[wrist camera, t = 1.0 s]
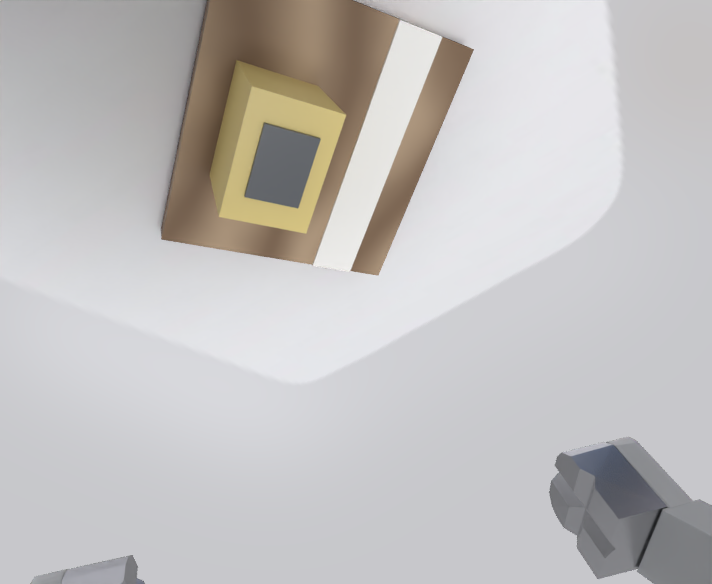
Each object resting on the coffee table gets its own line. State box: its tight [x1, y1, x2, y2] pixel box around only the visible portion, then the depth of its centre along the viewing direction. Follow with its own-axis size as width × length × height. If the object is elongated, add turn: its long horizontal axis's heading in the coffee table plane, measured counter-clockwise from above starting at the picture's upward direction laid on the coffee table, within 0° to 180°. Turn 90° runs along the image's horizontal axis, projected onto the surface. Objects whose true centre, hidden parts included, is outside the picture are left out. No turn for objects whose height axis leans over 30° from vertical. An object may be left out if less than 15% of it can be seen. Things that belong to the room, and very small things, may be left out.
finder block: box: [210, 60, 346, 234], centre depth 31 cm, size 5×7×6 cm
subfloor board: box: [161, 0, 474, 275], centre depth 35 cm, size 16×17×2 cm
